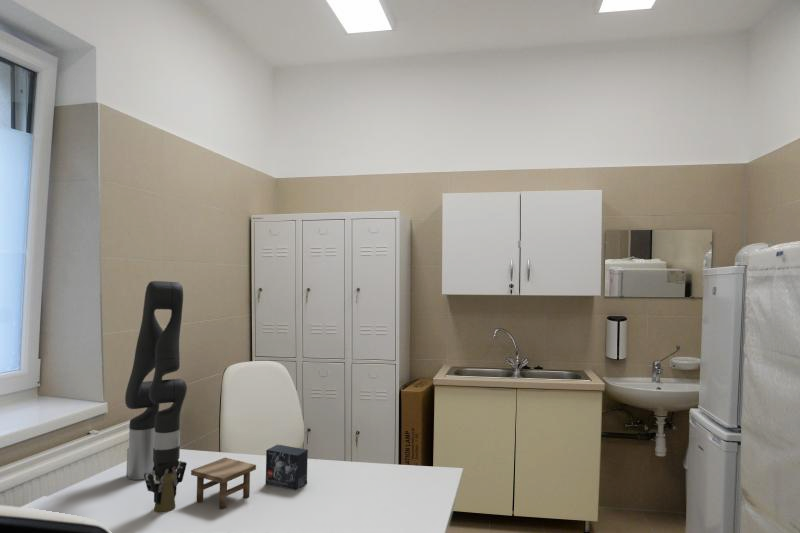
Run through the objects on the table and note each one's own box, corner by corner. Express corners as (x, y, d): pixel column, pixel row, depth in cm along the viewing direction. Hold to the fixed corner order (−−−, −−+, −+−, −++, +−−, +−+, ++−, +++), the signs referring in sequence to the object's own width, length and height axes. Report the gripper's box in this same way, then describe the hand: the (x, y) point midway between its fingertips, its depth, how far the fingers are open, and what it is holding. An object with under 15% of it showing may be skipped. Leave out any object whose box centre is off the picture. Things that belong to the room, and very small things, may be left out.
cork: (167, 513, 158) (168, 476, 159) (149, 511, 160) (150, 474, 160) (179, 505, 164) (180, 469, 165) (162, 503, 166) (163, 467, 166)
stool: (190, 502, 167) (191, 470, 167) (224, 487, 179) (225, 457, 179) (222, 511, 160) (223, 478, 160) (255, 495, 172) (256, 464, 173)
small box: (264, 484, 182) (265, 449, 183) (276, 477, 189) (277, 444, 189) (297, 490, 177) (297, 454, 178) (307, 483, 184) (308, 449, 184)
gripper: (177, 437, 171) (176, 490, 170) (137, 449, 158) (136, 507, 157) (194, 440, 167) (192, 495, 167) (154, 453, 154) (152, 512, 154)
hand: (165, 500), depth 162 cm, fingers open, 4 cm apart
